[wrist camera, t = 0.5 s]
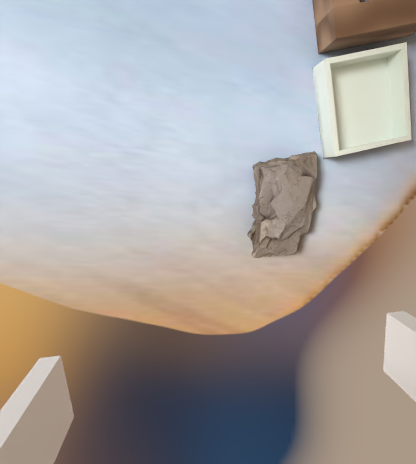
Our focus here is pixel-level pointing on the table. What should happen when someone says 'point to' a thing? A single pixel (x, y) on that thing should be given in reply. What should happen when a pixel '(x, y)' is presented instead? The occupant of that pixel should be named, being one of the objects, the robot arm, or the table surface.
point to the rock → (283, 203)
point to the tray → (363, 100)
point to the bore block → (361, 22)
